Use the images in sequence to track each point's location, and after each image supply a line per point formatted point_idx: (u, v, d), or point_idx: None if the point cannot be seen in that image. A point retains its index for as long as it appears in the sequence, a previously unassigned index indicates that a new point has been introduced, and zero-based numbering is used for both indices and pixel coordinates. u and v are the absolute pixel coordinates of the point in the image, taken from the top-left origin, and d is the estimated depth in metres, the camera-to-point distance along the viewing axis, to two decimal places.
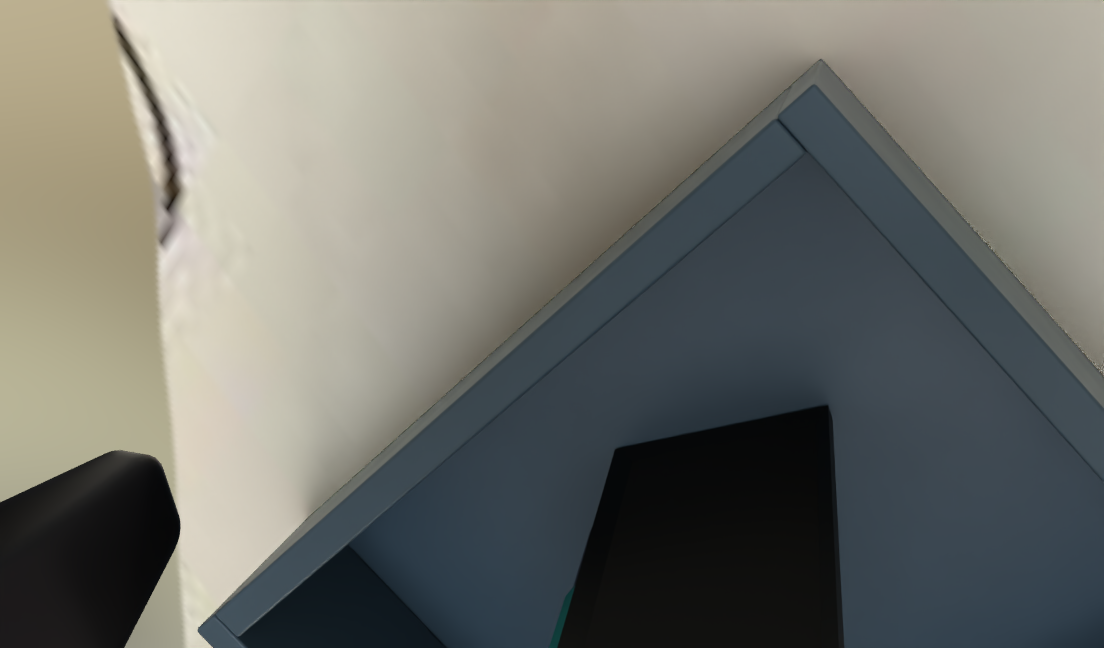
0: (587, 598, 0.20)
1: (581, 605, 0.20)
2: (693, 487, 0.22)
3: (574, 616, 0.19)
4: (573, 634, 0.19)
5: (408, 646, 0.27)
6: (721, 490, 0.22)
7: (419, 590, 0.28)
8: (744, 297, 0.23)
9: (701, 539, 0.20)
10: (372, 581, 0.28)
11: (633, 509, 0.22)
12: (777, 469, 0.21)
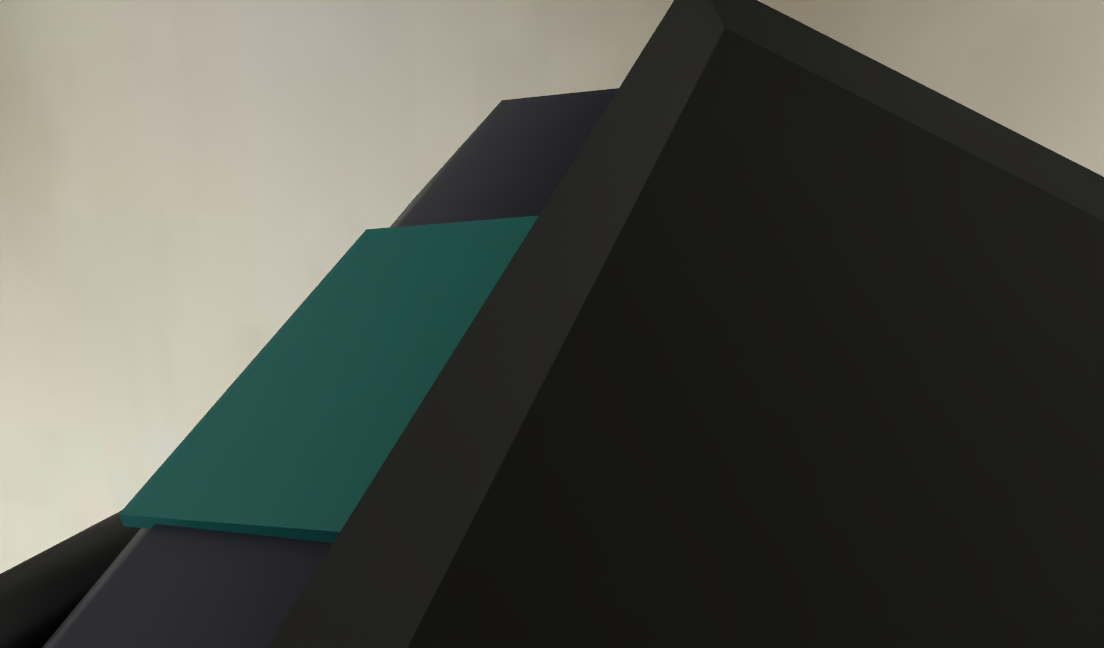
0: (500, 389, 0.05)
1: (473, 409, 0.05)
2: (883, 219, 0.07)
3: (434, 443, 0.05)
4: (403, 531, 0.04)
5: None
6: (959, 284, 0.07)
7: None
8: None
9: (902, 414, 0.06)
10: None
11: (708, 164, 0.07)
12: None
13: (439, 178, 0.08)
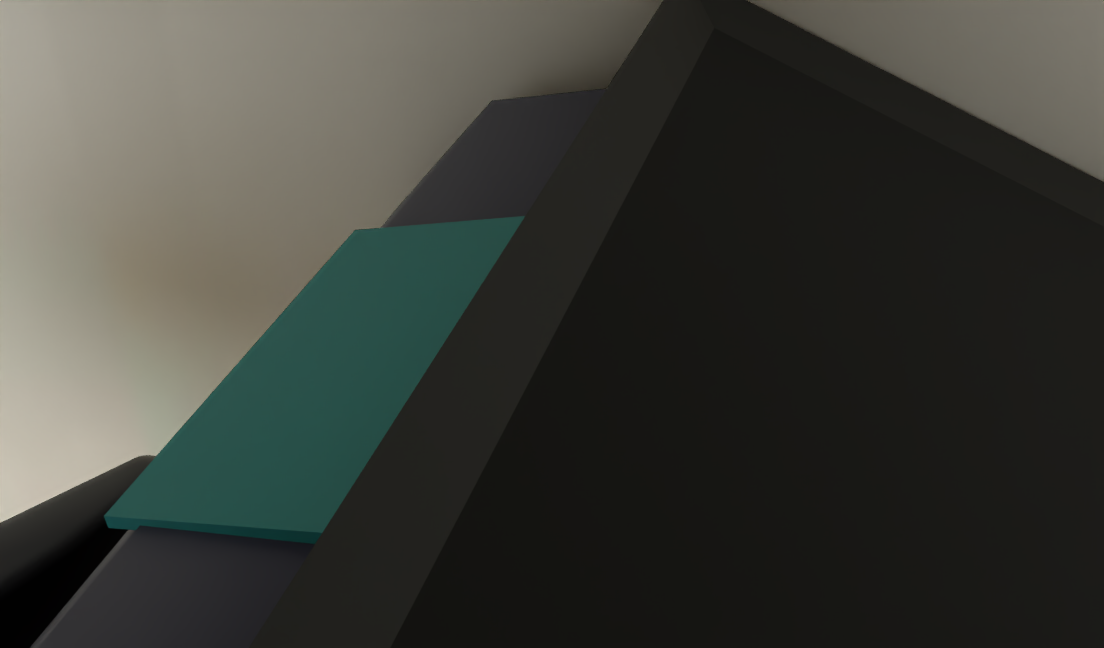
0: (485, 389, 0.05)
1: (458, 409, 0.05)
2: (872, 220, 0.07)
3: (418, 444, 0.05)
4: (386, 532, 0.04)
5: None
6: (948, 284, 0.07)
7: None
8: None
9: (890, 414, 0.06)
10: None
11: (697, 165, 0.07)
12: (1095, 326, 0.08)
13: (428, 178, 0.08)
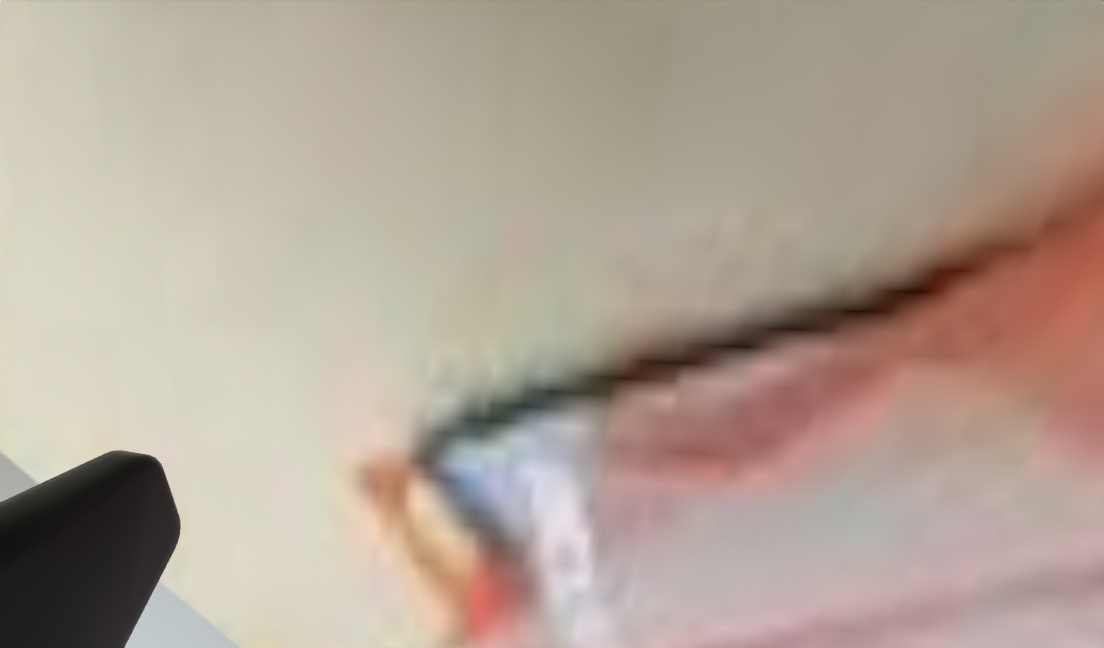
0: None
1: None
2: None
3: None
4: None
5: None
6: None
7: None
8: None
9: None
10: None
11: None
12: None
13: None
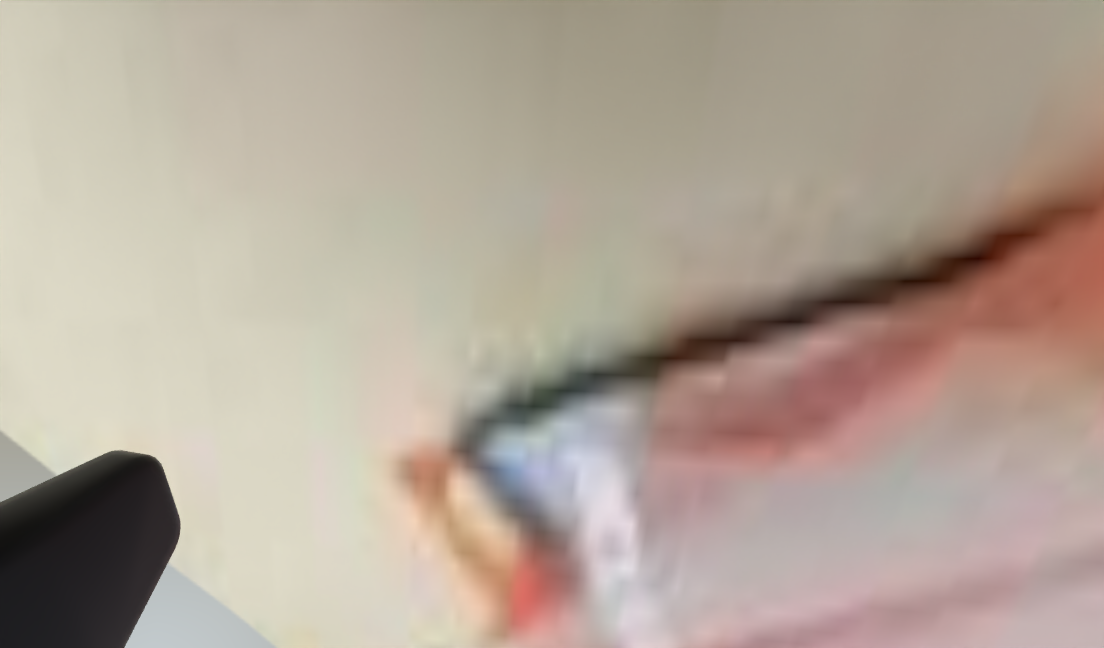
0: None
1: None
2: None
3: None
4: None
5: None
6: None
7: None
8: None
9: None
10: None
11: None
12: None
13: None
